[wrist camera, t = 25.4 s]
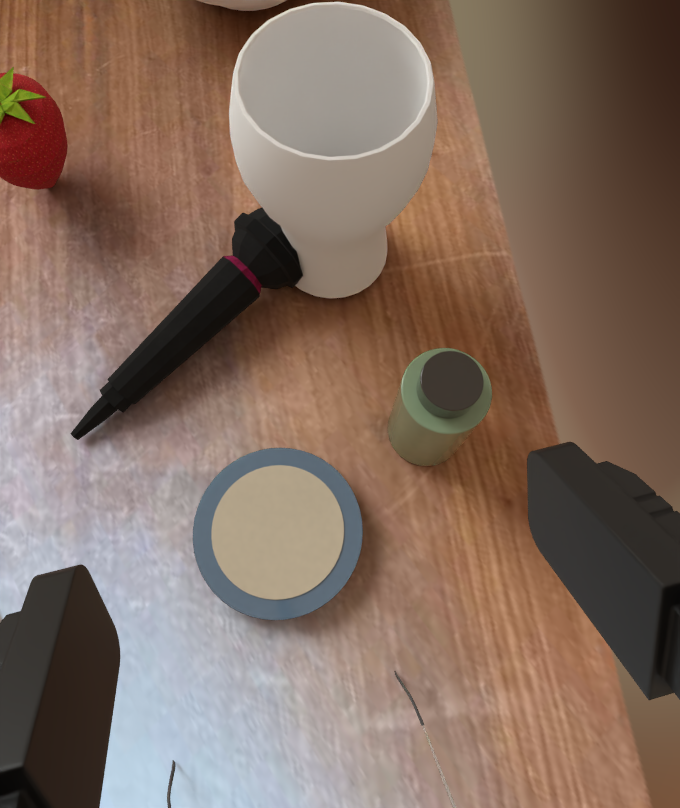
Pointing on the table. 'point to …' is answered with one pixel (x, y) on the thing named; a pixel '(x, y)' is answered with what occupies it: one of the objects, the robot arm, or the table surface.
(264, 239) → the microphone
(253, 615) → the saucer
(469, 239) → the table surface
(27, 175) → the strawberry
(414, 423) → the pepper shaker
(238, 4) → the bowl
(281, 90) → the cup
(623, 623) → the robot arm
